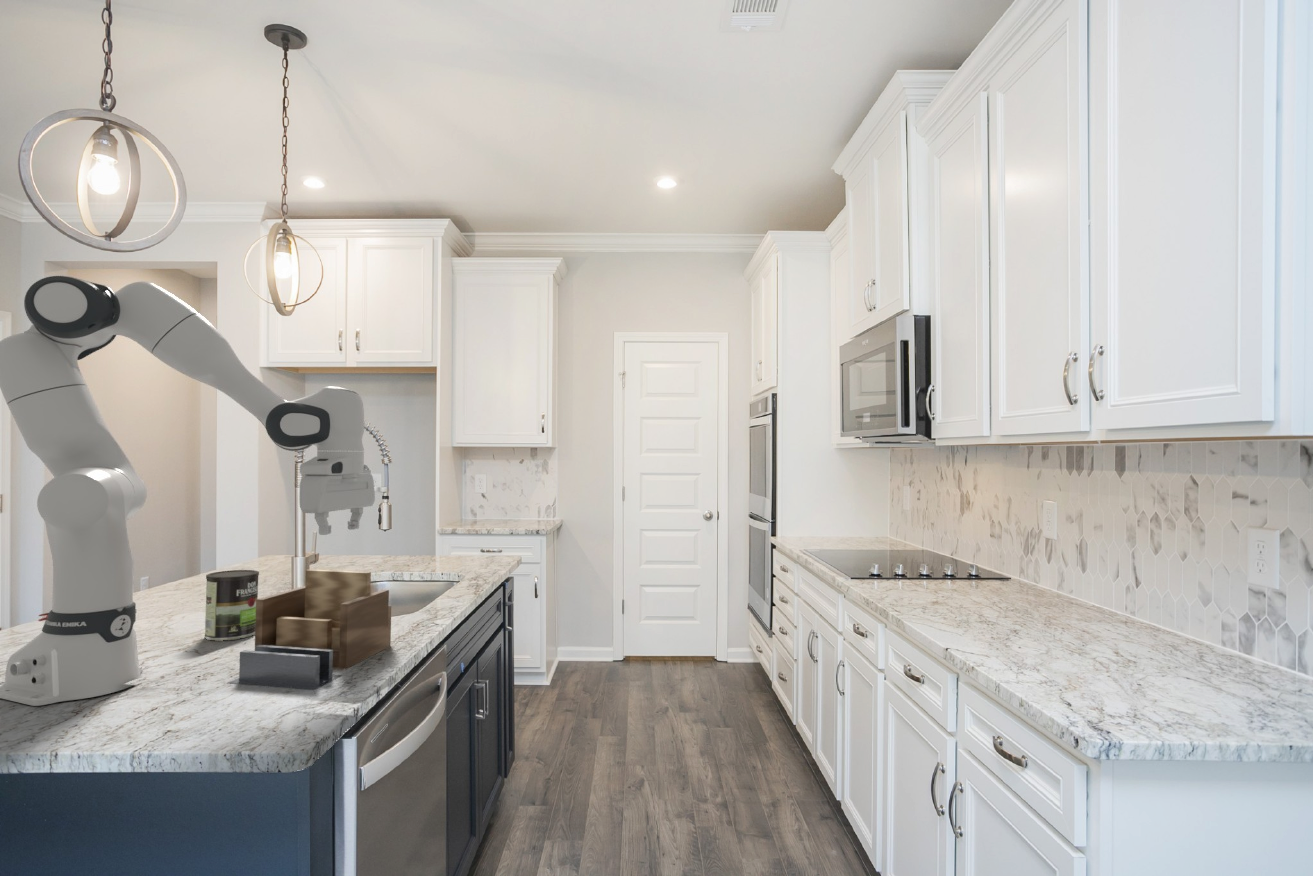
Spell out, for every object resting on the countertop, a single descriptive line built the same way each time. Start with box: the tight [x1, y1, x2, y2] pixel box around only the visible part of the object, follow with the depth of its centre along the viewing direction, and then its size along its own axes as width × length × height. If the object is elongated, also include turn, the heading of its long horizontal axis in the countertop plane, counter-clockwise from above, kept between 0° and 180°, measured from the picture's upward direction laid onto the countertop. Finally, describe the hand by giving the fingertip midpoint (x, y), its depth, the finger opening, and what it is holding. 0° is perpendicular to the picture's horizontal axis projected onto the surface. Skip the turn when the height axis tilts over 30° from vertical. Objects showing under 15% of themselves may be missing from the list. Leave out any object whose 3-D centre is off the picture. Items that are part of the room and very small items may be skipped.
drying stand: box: [227, 645, 344, 691], centre depth 121 cm, size 17×8×6 cm, turn 80°
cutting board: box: [304, 568, 372, 621], centre depth 140 cm, size 14×1×16 cm, turn 81°
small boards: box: [276, 617, 340, 649], centre depth 134 cm, size 14×4×8 cm, turn 80°
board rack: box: [254, 585, 392, 670], centre depth 137 cm, size 20×16×14 cm
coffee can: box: [204, 569, 260, 642], centre depth 155 cm, size 10×10×14 cm
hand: (339, 531), depth 140 cm, fingers open, 8 cm apart
